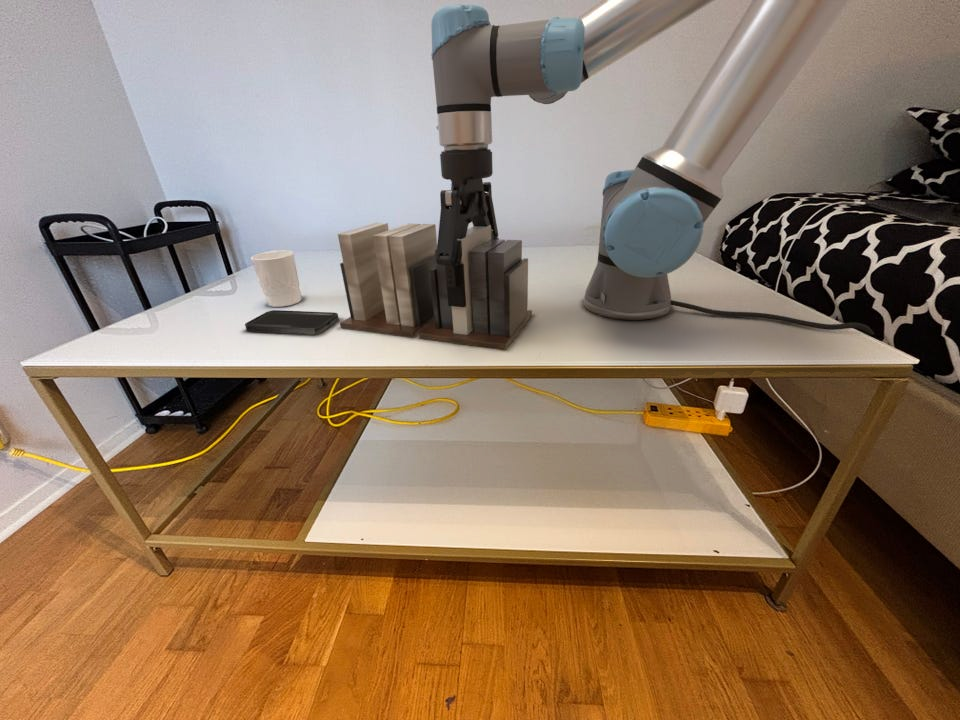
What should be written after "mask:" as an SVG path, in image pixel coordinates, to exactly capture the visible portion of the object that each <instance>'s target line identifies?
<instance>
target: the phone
mask: <svg viewBox="0 0 960 720" xmlns="http://www.w3.org/2000/svg"><path fill="white" fill-rule="evenodd" d="M339 320H340V318H339V313H338V312H327V311H303V310H283V309H281V310H280V309H272V310H269V311H266V312H264V313H262V314H260V315H258V316H257V317H255V318H253V319H251V320H249V321H247V322H245V323H244V326H245V330H246V332H251V333H253V332H255V333H273V334H289V335H291V334H292V335H310V336H316V335H319V334H322V333H323V332H326V330H328V329H329V328H331V326H333V325H335V324H336V323H337V322H339Z"/></svg>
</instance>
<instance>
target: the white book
mask: <svg viewBox="0 0 960 720" xmlns="http://www.w3.org/2000/svg"><path fill="white" fill-rule="evenodd" d="M490 239H491V225H489V226H487V227H483V226H472V227H468V229H467V234H466V237H465V238H463V239H457V240H461V243H462V258H461V263H460V264H464V278H465V295H466V306H465V307H455V306H452V318H453V330H454V333H455V334H463V335H468V334H469V333H470V332H471V331H472V330H473V329H474V326H473V308H472V289H471V270H470V251H471V250H473V249H475V248H476V247H478V246H480V245H481V244H483V243H485V242H487V241H488V240H490Z"/></svg>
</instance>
